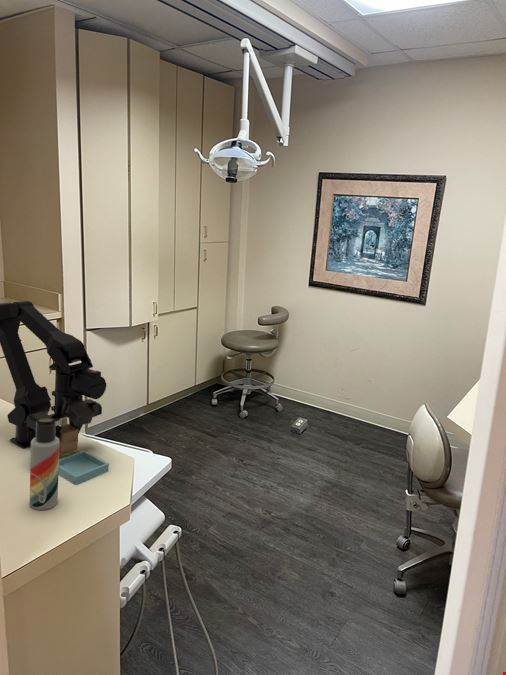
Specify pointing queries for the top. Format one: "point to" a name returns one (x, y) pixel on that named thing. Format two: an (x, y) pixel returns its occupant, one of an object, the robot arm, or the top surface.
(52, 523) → the top surface
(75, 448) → the walnut block
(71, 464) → the teal tray
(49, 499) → the lotion bottle
